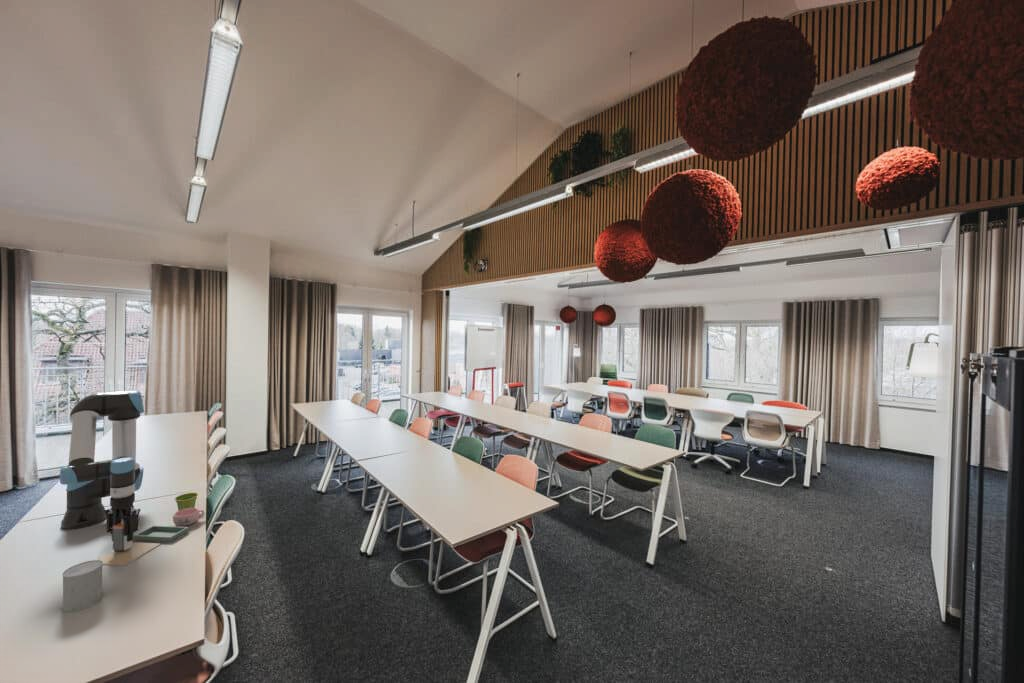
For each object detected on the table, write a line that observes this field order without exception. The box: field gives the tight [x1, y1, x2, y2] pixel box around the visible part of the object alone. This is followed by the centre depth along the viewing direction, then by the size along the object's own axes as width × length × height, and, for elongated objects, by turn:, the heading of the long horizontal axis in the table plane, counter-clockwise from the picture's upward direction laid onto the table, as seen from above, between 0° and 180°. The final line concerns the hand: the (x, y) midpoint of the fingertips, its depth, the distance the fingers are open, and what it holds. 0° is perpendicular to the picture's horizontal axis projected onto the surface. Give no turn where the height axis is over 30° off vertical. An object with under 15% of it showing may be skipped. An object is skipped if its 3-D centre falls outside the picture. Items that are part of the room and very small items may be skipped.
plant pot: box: [174, 492, 199, 512], centre depth 202 cm, size 9×9×9 cm
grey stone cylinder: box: [62, 559, 104, 613], centre depth 136 cm, size 10×10×12 cm
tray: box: [133, 525, 189, 544], centre depth 179 cm, size 17×9×2 cm, turn 89°
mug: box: [172, 507, 205, 527], centre depth 192 cm, size 12×10×6 cm
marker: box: [112, 520, 126, 552], centre depth 167 cm, size 4×4×11 cm
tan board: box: [97, 541, 162, 567], centre depth 165 cm, size 14×16×1 cm
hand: (122, 548), depth 167 cm, fingers closed on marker, 4 cm apart
